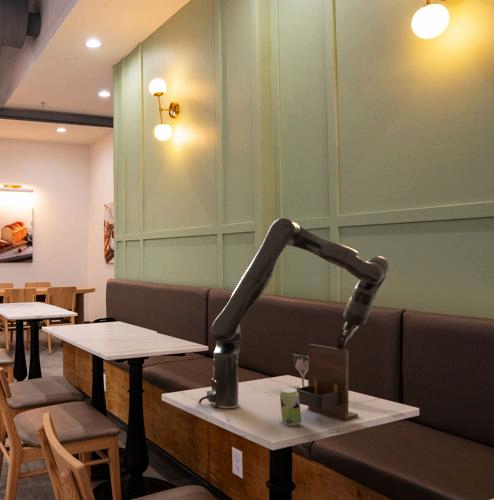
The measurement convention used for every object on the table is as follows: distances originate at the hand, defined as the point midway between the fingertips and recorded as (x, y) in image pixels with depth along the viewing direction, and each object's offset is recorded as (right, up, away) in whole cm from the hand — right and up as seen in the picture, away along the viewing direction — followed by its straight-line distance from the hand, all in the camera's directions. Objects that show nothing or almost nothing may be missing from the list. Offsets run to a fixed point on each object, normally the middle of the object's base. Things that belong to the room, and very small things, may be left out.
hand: (344, 342), depth 183 cm
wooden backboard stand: (-9, -25, -3) cm, 27 cm away
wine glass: (-2, -26, +35) cm, 44 cm away
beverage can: (-24, -25, -13) cm, 37 cm away
